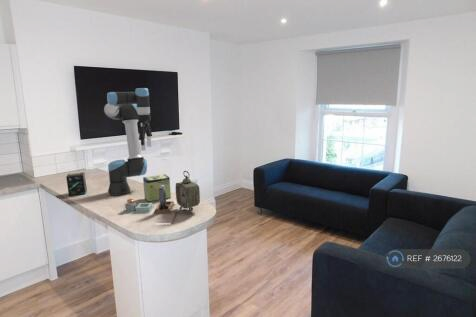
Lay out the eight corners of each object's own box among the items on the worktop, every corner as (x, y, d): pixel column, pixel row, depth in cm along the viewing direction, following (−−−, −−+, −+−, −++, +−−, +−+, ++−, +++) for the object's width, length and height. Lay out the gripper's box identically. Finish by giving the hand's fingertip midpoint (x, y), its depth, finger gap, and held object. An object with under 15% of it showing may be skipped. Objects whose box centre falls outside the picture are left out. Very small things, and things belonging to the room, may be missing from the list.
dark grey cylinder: (160, 209, 192) (159, 184, 188) (167, 209, 192) (165, 184, 188) (159, 212, 188) (157, 186, 184) (166, 212, 188) (164, 186, 185)
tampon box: (87, 190, 237) (84, 171, 234) (85, 194, 228) (83, 174, 225) (70, 192, 233) (68, 173, 230) (68, 196, 225) (65, 176, 222)
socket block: (130, 208, 198) (129, 200, 197) (154, 207, 199) (153, 200, 198) (123, 215, 187) (123, 207, 186) (149, 214, 187) (149, 206, 186)
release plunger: (128, 206, 194) (128, 199, 193) (135, 206, 194) (134, 199, 193) (126, 209, 190) (126, 201, 189) (133, 209, 190) (132, 201, 189)
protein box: (171, 199, 213) (169, 177, 210) (148, 203, 206) (146, 180, 203) (166, 195, 222) (165, 173, 219) (144, 199, 215) (142, 177, 212)
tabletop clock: (176, 209, 195) (174, 169, 190) (189, 205, 200) (187, 167, 195) (188, 216, 184) (185, 174, 179) (201, 212, 189) (199, 171, 184)
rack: (159, 205, 202) (159, 201, 201) (175, 205, 202) (175, 200, 201) (153, 215, 186) (153, 210, 185) (170, 214, 186) (170, 210, 185)
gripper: (143, 112, 205) (145, 145, 209) (131, 115, 180) (134, 152, 185) (154, 112, 205) (157, 145, 209) (144, 115, 180) (147, 152, 185)
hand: (146, 148), depth 197 cm, fingers open, 13 cm apart
